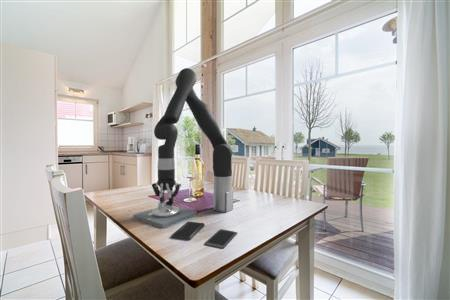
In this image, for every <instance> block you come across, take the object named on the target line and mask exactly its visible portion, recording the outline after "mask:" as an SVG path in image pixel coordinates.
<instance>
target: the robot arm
mask: <svg viewBox="0 0 450 300" xmlns="http://www.w3.org/2000/svg"><path fill="white" fill-rule="evenodd" d="M196 82H197V74H196V72H195V71H194V70H193V69H192V68H187V67H186V68H183V69H181V70H180V71H179V73H178V74H177V76H176V79H175V90H174V93H173V95H172V96H171V99H170V100H169V102H168V105H167V106H166V109H165V112H164V114H163V116H161V118H160V119H159V121H158V122H157V123H156V125H155V126H154V130H153V133H154V137H155V138H156V139H157V140H162V141H163V140H164V144H160V145H159V146H158V147H157V182H154V183H152V184H151V187H152V189H153V192H154V194H155V196H156V197H158V198H159V202H162V201H165V200H166V199H165V193H166V192H167V195H168V200H169V206H171V205H172V204H173V205H174V198H175V197H177V196H178V193H179V191H180V189H181V187H182V184H181V183H177V182H176V180H175V178H176V175H175V174H176V173H175V172H176V171H175V170H176V168H175V167H176V166H175V147H176V144H177V143H176V142H177V139H178V134H179V133H178V129H177V126H176V125H175V124H177V123H178V122H179V120H180V118H181V115H182V112H183V109H184V107H185V103H186V104H187V106H188V108H189V110H190V111H191V113H192V116H193V117H194V120H195V121H196V123H197V125H198V127H199V128H200V130H201V132H203V134H204V135H205V136H206V137H207V139H208V140H209V142H210V144H211V147H212V148H213V151H212V171H213V210H214V211H215V212H224V213H228V212H230V211H232V210H234V190H232V189H233V188H232V186H233V183H232V182H233V169H232V156H233V149H232V147H231V146H230V145H229V143H228V142H227V140H226V139H225V137H224V135H223V133H222V132H221V129H220V127H219V124H218V123H217V120H216V118H215V116H214V114H213V112H212V110H211V108H210V107H209V105H208V104H206V103H205V102H204V101H202V100H201V99H200V98H199V97H198V95H197V94H196V91H195V90H194V86H195V84H196ZM173 188H174V189H173Z"/></svg>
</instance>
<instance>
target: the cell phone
mask: <svg viewBox="0 0 450 300" xmlns="http://www.w3.org/2000/svg"><path fill="white" fill-rule="evenodd" d="M237 235H238V232H237V231H233V230H228V229H224V228H223V229H222V228H221V229H219V230H217V231H216V232H215V233H214V234H213V235H212V236H210V238H208V239H207V240H206V241H205V242H204V243H203V245H204V246H207V247H211V248H216V249H221V250H224V249H225V248H226V247H227V246H228V245H229V244H230V242H232V240H233V239H234V238H235V237H236V236H237Z"/></svg>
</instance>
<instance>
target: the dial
mask: <svg viewBox="0 0 450 300" xmlns="http://www.w3.org/2000/svg"><path fill="white" fill-rule="evenodd" d="M157 205H158V207H155V208H152V209H153V210H152V213H149V214H148V215H149V216H150V215H153V216H155V217H162V218H163V217H172V216H175V215H177V214H179V208H178V207H179V206H176V205H174V203H173V204H172V205H171V206H169V199H165V201H162V202H160V201H158V203H157ZM175 206H176V207H175Z"/></svg>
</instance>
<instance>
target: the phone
mask: <svg viewBox="0 0 450 300" xmlns="http://www.w3.org/2000/svg"><path fill="white" fill-rule="evenodd" d="M204 227H206V226H205V223H204V222H197V221H186V223H184V224H183V225H182V226H180V227H179V228H178V229H177V230H176V231H174V232H173V233H172V234H170V235H171V236H170V238H171V239H173V240H174V239H175V240H181V241H187V242H188V241H191V240H193V238H194V237H196V235H197V234H199V232H200V231H202V229H203V228H204Z"/></svg>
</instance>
